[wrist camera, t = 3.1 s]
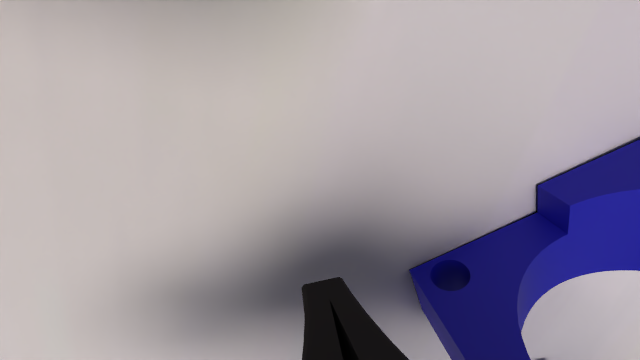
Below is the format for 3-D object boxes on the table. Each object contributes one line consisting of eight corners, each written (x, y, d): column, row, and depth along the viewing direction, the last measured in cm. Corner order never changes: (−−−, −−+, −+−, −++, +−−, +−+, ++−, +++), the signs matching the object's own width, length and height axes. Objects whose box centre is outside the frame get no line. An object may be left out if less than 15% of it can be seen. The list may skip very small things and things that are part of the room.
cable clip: (674, 124, 13) (954, 206, 8) (652, 205, 15) (857, 309, 10) (401, 246, 13) (506, 407, 8) (422, 309, 15) (513, 464, 10)
